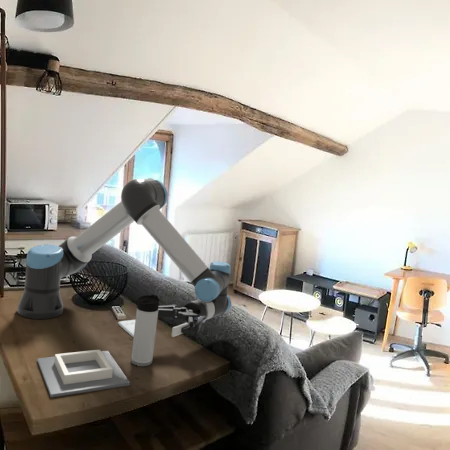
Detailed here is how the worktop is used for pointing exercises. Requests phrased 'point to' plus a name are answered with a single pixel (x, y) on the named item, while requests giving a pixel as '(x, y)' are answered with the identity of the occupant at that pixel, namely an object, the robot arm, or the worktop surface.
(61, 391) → the dock
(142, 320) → the travel mug
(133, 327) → the external hard drive
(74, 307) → the worktop surface
